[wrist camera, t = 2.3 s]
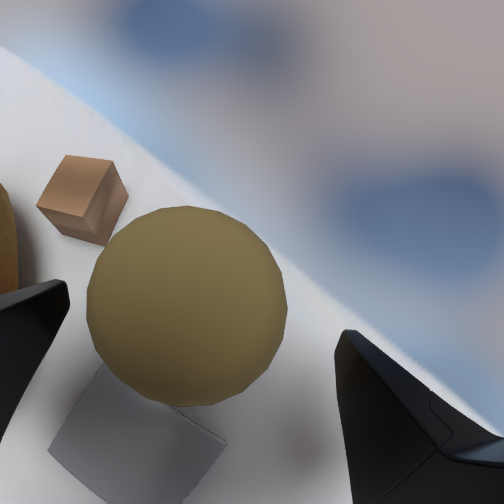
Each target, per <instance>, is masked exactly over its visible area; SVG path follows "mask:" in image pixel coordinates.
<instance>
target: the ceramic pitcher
mask: <svg viewBox="0 0 504 504" xmlns="http://www.w3.org/2000/svg"><path fill="white" fill-rule="evenodd" d="M16 290H18V239H17V231H16V224H15V217H14V212H13V209H12V206H11V203H10V200H9V196H8V193H7V191H6V190H5V189H4V187H3V186H2V185H1V183H0V295H2V294H6V293H9V292H12V291H16Z"/></svg>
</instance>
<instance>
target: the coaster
mask: <svg viewBox="0 0 504 504" xmlns="http://www.w3.org/2000/svg"><path fill="white" fill-rule="evenodd" d="M225 446H226V441H224V440H222V439H220V438H219V437H217V436H215V435H214V434H212V433H210V432H209V431H207V430H205V429H204V428H202V427H201V426H199V425H197V424H196V423H194V422H193V421H191V420H190V419H188V418H187V417H185V416H184V415H182V414H181V413H179V412H178V411H176V410H175V409H173V408H172V407H170V406H169V405H168V404H164V403H161V402H157V401H154V400H150V399H147V398H145V397H143V396H142V395H140V394H139V393H137V392H136V391H135V390H133V389H132V388H130V387H129V386H127V385H126V384H125V383H123V382H122V381H120V380H119V379H118V378H117V377H115V376H114V375H113V373H112V372H111V371H110V369H109V368H108V366H107V365H106V364H105V362H103V364H102V365H101V367H100V368H99V370H98V371H97V373H96V374H95V376H94V377H93V379H92V380H91V382H90V383H89V385H88V386H87V388H86V389H85V391H84V392H83V394H82V395H81V397H80V398H79V400H78V402H77V403H76V405H75V406H74V408H73V409H72V411H71V413H70V414H69V416H68V417H67V419H66V421H65V422H64V424H63V425H62V427H61V429H60V430H59V432H58V434H57V435H56V437H55V439H54V440H53V442H52V444H51V445H50V447H49V449H48V450H47V451H48V452H49V453H50V454H51V455H52V456H53V457H54V458H55V459H56V460H57V461H58V462H59V463H60V464H61V465H62V466H63V467H64V468H65V469H67V470H68V471H69V472H70V473H71V474H72V475H73V476H74V477H76V478H77V479H78V480H79V481H80V482H81V483H83V484H84V485H85V486H86V487H87V488H89V489H90V490H91V491H92V492H94V493H95V494H96V495H98V496H99V497H100V498H101V499H103V500H104V501H106V502H107V503H108V504H181V503H182V501H183V500H184V499H185V498H186V497H187V495H188V494H189V493H190V492H191V490H192V489H193V488H194V487H195V486H196V484H197V483H198V482H199V481H200V479H201V478H202V477H203V475H204V474H205V473H206V472H207V470H208V469H209V468H210V466H211V465H212V464H213V463H214V461H215V460H216V459H217V457H218V456H219V455H220V453H221V452H222V450H223V449H224V448H225Z"/></svg>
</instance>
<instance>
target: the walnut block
mask: <svg viewBox="0 0 504 504" xmlns="http://www.w3.org/2000/svg"><path fill="white" fill-rule="evenodd" d="M128 197H129V196H128V194H127V192H126V190H125V188H124V185H123V183H122V181H121V179H120V176H119V174H118V172H117V170H116V167H115V165H114V163H113V161H110V160H103V159H95V158H87V157H79V156H70V155H65V157H64V158H63V160H62V161H61V163H60V165H59V166H58V168H57V169H56V171H55V173H54V174H53V176H52V178H51V179H50V181H49V183H48V184H47V186H46V188H45V190H44V191H43V193H42V195H41V197H40V199H39V201H38V202H37V204H36V206H37V208H38V209H39V210H40V211H41V212H42V213H43V214H44V215H45V216H46V218H47V219H48V220H49V221H50V222H51V223H52V224H53V225H54V226H55V227H56V228H57V229H58V231H59V232H60V233H61V234H63V235H66V236H69V237H73V238H76V239H80V240H83V241H87V242H90V243H94V244H97V245H101V246H104V247H106V246H107V244H108V241H109V239H110V236H111V234H112V232H113V230H114V227H115V225H116V223H117V221H118V218H119V216H120V214H121V212H122V210H123V207H124V205H125V203H126V201H127V199H128Z"/></svg>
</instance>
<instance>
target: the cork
mask: <svg viewBox="0 0 504 504" xmlns="http://www.w3.org/2000/svg"><path fill="white" fill-rule="evenodd" d="M287 309H288V307H287V302H286V296H285V290H284V284H283V279H282V273H281V271H280V269H279V267H278V265H277V263H276V261H275V259H274V258H273V256H272V254H271V252H270V250H269V248H268V246H267V245H266V244H265V243H264V242H263V241H262V240H261V239H260V238H259V237H258V236H257V235H256V234H255V233H254V232H253V231H252V230H251V229H250V228H249V227H247V226H246V225H245V224H243V223H241V222H239V221H237V220H235V219H233V218H231V217H229V216H228V215H226V214H224V213H222V212H219V211H214V210H209V209H203V208H198V207H192V206H180V207H170V208H161V209H158V210H156V211H153V212H151V213H148V214H146V215H143V216H141V217H138V218H136V219H135V220H133V221H132V222H131V223H129V224H128V225H127V226H125V227H124V228H123V229H122V230H120V231H119V232H118V233H117V234H115V235H114V236H113V238H112V239H111V240H110V242H109V243H108V244H107V246H106V247H105V249H104V250H103V251H102V253H101V254H100V256H99V257H98V259H97V261H96V264H95V267H94V270H93V273H92V276H91V279H90V282H89V285H88V288H87V309H86V320H87V323H88V327H89V330H90V333H91V337H92V340H93V343H94V346H95V349H96V351H97V352H98V354H99V355H100V357H101V358H102V359H103V361H104V362H105V364H106V365H107V366H108V368H109V369H110V371H111V372H112V373H113V375H114V376H115V377H117V378H118V379H119V380H120V381H122V382H123V383H125V384H126V385H127V386H129V387H130V388H132V389H133V390H135V391H136V392H137V393H139V394H140V395H142V396H143V397H145V398H147V399H150V400H154V401H157V402H161V403H164V404H168V405H172V406H175V407H189V406H204V405H213V404H215V403H217V402H220V401H222V400H225V399H227V398H229V397H232V396H234V395H236V394H238V393H241V392H243V391H244V390H245V389H246V388H247V387H248V386H249V385H250V384H252V383H253V382H254V381H255V380H256V379H257V378H258V377H259V376H260V375H261V374H262V373H263V372H265V371H266V370H267V369H268V367H269V365H270V363H271V361H272V359H273V357H274V356H275V354H276V352H277V350H278V348H279V346H280V344H281V342H282V340H283V335H284V329H285V323H286V316H287Z"/></svg>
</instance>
